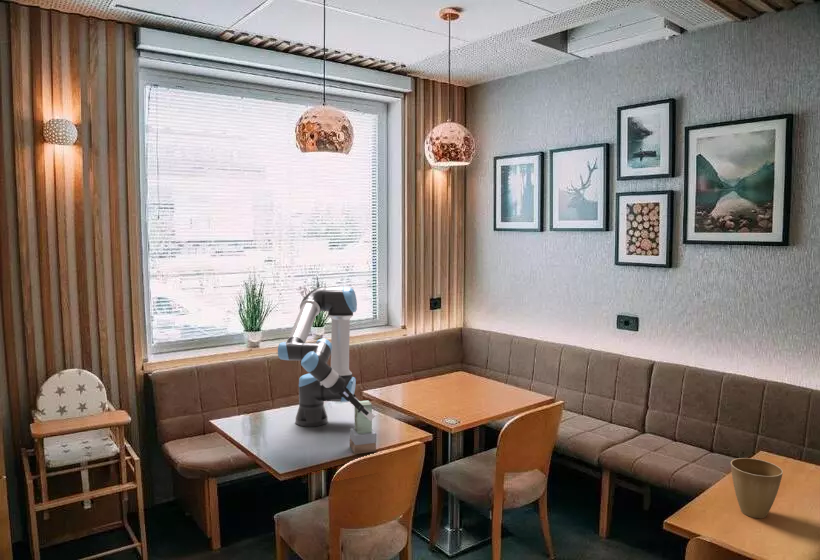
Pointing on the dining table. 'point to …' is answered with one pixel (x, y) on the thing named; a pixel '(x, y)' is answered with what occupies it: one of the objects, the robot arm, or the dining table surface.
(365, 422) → the sage block
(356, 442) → the slate block
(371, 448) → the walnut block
